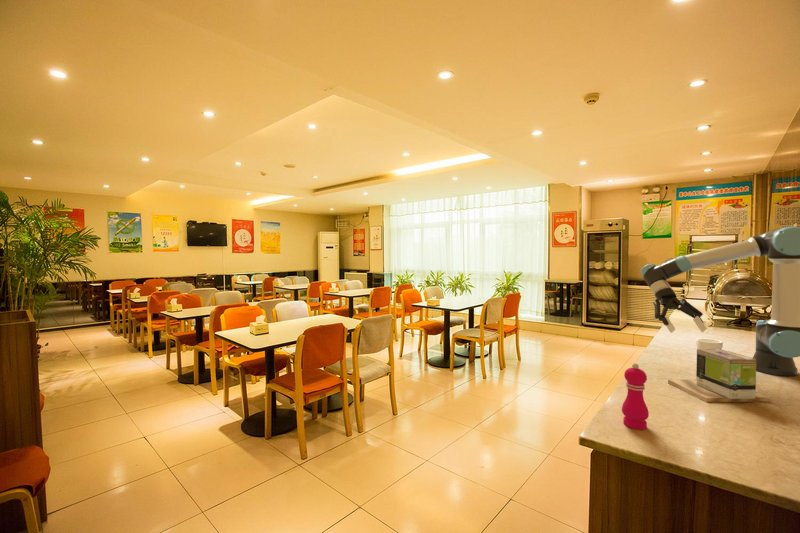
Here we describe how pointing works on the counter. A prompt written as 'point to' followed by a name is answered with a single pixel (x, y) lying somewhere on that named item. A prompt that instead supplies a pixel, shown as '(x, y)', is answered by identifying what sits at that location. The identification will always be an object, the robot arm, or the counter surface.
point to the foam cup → (708, 343)
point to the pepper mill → (635, 399)
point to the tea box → (726, 373)
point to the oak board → (710, 392)
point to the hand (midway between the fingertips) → (688, 330)
